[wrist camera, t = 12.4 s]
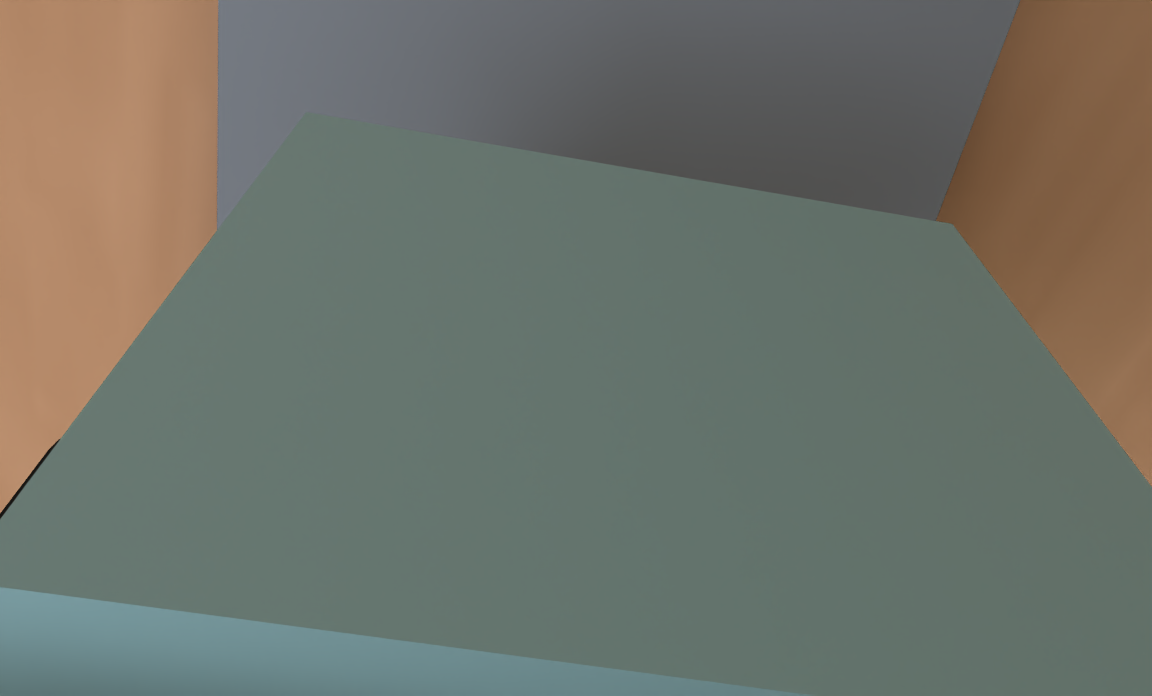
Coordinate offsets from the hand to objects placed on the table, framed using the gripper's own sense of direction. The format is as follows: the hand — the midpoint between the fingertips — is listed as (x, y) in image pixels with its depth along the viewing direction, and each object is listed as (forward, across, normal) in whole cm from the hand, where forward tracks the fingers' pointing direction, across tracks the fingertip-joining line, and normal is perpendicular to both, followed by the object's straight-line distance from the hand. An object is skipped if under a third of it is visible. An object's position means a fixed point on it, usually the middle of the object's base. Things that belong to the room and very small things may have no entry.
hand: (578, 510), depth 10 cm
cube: (+1, 0, 0) cm, 1 cm away
